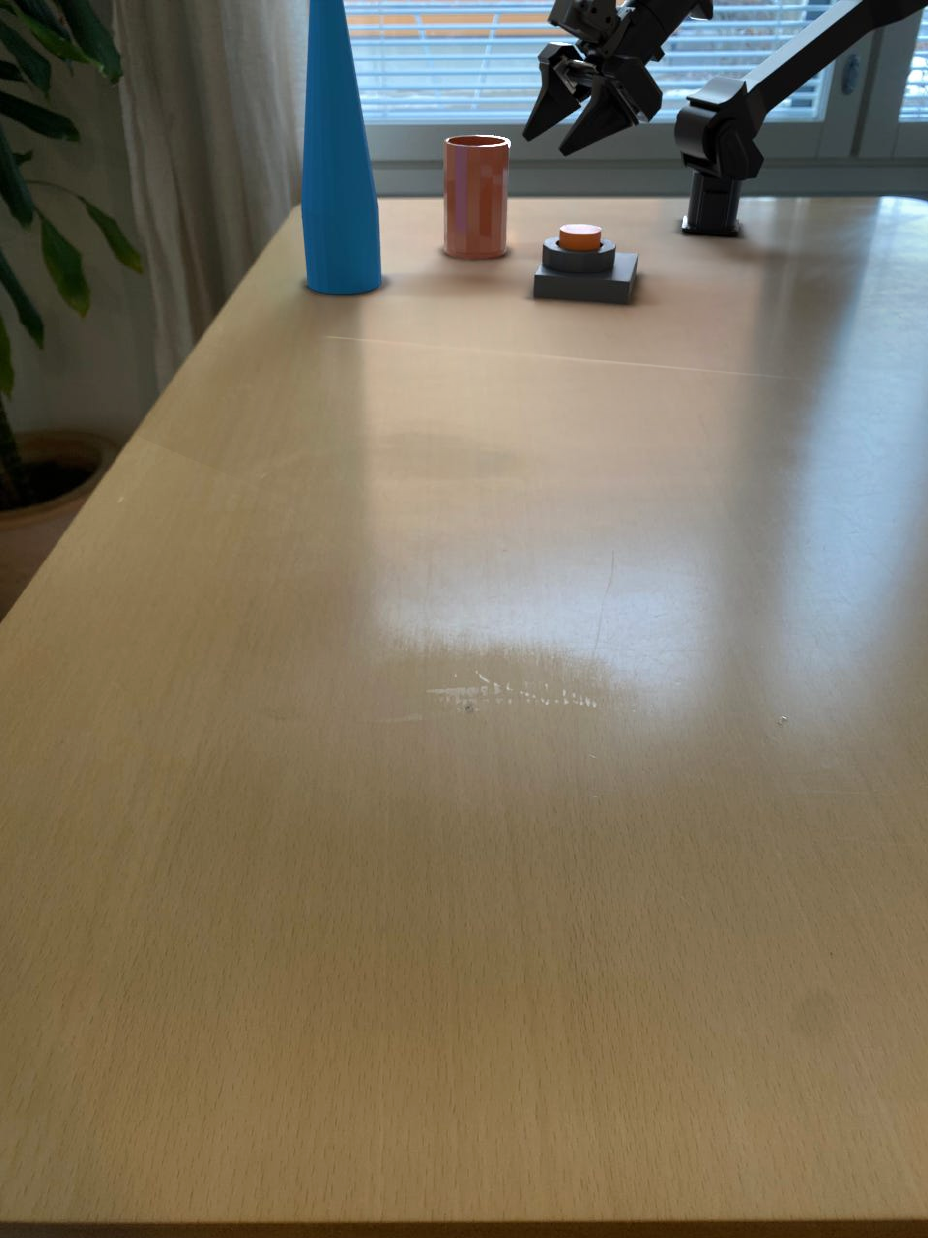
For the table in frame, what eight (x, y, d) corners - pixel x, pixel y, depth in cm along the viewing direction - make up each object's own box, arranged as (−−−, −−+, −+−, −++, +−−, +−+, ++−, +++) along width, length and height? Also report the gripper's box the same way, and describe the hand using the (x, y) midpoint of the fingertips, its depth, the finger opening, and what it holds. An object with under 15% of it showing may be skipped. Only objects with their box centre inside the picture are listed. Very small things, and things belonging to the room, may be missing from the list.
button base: (549, 269, 98) (551, 228, 96) (636, 275, 97) (640, 234, 94) (533, 297, 90) (535, 254, 88) (627, 305, 89) (632, 261, 86)
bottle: (370, 296, 90) (352, -104, 73) (297, 291, 91) (262, -105, 74) (389, 275, 96) (376, -100, 79) (320, 271, 97) (292, -100, 80)
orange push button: (561, 241, 94) (563, 222, 92) (602, 244, 93) (603, 225, 92) (555, 251, 90) (556, 232, 89) (597, 254, 90) (599, 235, 89)
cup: (436, 245, 106) (436, 136, 99) (494, 241, 107) (497, 133, 101) (454, 261, 100) (454, 147, 94) (514, 256, 102) (518, 144, 96)
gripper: (560, -49, 99) (461, 75, 102) (650, -46, 85) (532, 98, 88) (618, 38, 106) (524, 151, 109) (711, 53, 92) (599, 183, 95)
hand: (542, 145), depth 100 cm, fingers open, 9 cm apart
